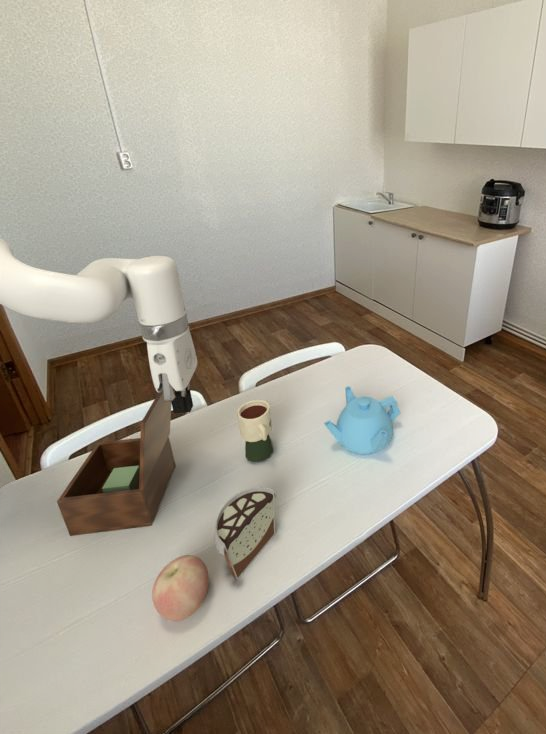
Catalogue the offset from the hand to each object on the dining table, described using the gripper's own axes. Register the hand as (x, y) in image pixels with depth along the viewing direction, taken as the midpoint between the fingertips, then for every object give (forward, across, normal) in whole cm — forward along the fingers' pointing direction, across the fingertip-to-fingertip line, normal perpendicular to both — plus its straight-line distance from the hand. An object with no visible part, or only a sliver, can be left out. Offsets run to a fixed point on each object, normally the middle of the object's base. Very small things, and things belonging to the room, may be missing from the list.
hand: (183, 409), depth 74 cm
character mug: (+21, +8, -11) cm, 25 cm away
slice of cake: (+21, -14, -11) cm, 28 cm away
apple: (+21, -22, -3) cm, 31 cm away
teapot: (+21, +10, -36) cm, 43 cm away
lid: (+4, 0, +6) cm, 7 cm away
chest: (+20, 0, +15) cm, 25 cm away
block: (+20, 0, +15) cm, 25 cm away
